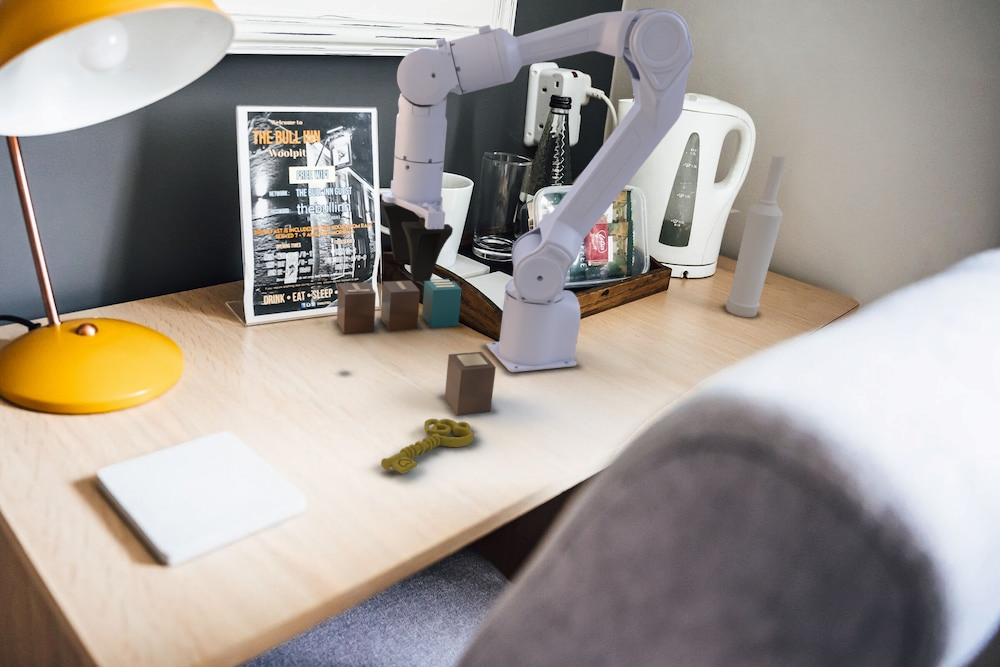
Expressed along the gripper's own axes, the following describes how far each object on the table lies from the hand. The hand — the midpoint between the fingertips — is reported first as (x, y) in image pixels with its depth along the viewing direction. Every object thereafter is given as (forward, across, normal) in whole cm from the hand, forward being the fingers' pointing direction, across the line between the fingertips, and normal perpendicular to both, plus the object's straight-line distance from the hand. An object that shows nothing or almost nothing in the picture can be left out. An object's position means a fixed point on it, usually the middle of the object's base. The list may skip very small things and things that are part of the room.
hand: (411, 269), depth 94 cm
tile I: (+10, -7, +1) cm, 13 cm away
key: (+11, +24, -5) cm, 26 cm away
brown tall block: (+10, +16, +2) cm, 19 cm away
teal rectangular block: (+10, -7, +7) cm, 14 cm away
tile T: (+10, -7, -5) cm, 13 cm away
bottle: (+10, -3, +57) cm, 58 cm away
